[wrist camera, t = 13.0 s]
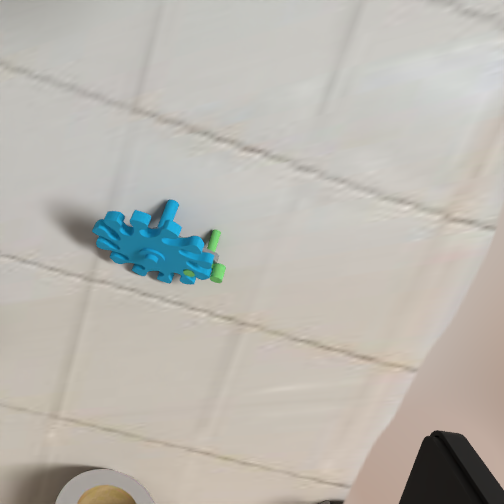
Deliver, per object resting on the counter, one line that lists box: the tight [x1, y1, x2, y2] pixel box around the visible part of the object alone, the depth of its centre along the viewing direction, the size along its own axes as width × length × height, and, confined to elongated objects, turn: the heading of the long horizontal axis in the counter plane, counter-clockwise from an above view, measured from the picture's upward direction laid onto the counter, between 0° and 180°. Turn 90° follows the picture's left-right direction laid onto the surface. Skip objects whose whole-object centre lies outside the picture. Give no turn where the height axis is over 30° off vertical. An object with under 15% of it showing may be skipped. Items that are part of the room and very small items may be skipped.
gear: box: [92, 200, 226, 284], centre depth 37 cm, size 11×6×10 cm
